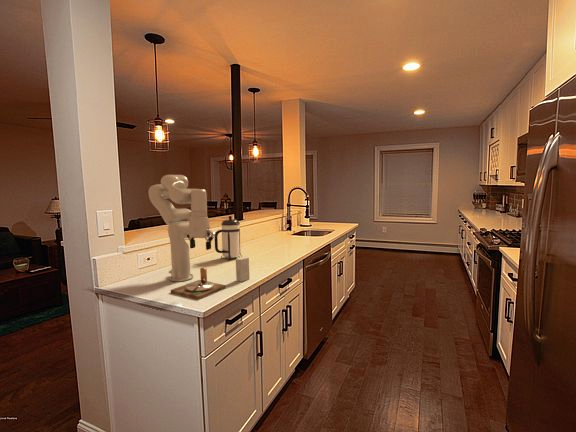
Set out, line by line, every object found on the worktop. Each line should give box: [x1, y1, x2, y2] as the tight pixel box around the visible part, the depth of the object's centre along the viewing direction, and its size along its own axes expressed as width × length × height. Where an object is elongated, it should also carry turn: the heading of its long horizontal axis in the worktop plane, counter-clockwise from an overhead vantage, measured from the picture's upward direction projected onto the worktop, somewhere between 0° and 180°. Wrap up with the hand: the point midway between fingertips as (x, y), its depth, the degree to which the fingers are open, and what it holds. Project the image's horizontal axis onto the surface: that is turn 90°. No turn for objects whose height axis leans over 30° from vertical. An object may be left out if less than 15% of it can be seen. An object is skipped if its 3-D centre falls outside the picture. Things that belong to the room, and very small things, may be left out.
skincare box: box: [235, 256, 250, 283], centre depth 169 cm, size 6×4×12 cm
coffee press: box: [214, 215, 243, 261], centre depth 219 cm, size 17×16×30 cm
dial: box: [186, 267, 215, 292], centre depth 151 cm, size 15×13×8 cm
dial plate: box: [170, 279, 227, 300], centre depth 153 cm, size 19×18×2 cm
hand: (200, 248), depth 156 cm, fingers open, 9 cm apart
